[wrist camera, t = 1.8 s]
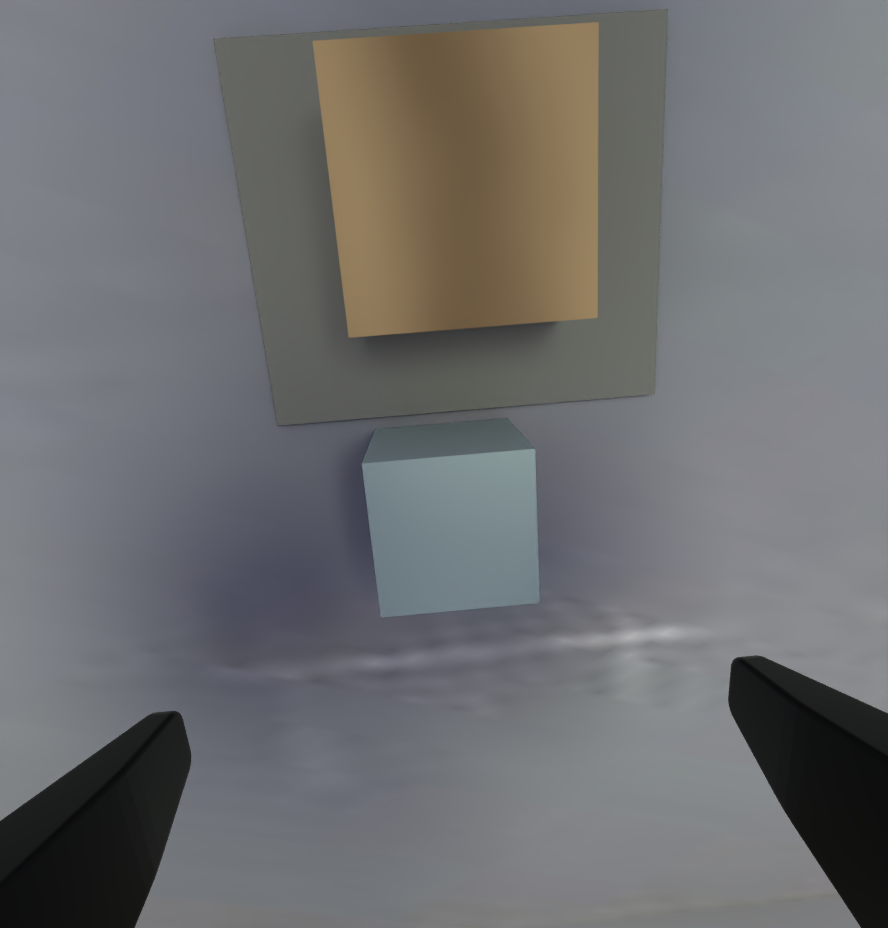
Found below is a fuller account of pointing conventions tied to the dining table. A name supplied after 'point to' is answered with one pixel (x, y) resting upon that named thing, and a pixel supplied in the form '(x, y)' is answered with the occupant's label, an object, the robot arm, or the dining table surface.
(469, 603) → the slate block
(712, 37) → the dining table surface
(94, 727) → the dining table surface
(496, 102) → the tan square block
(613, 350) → the mat
